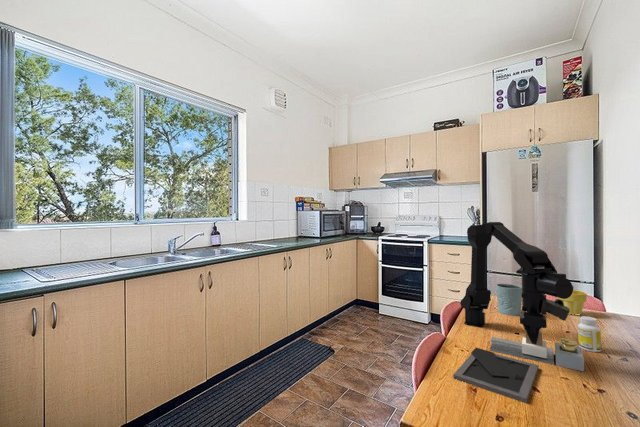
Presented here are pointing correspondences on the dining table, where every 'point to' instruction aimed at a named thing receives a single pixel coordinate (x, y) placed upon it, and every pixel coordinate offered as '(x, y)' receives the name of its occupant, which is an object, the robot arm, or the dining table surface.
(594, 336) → the supplement bottle
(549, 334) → the dining table surface
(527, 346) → the carriage
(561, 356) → the grey notched block
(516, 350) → the rail
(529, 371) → the picture frame
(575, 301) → the plant pot
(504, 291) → the teal embossed planter
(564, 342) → the button
